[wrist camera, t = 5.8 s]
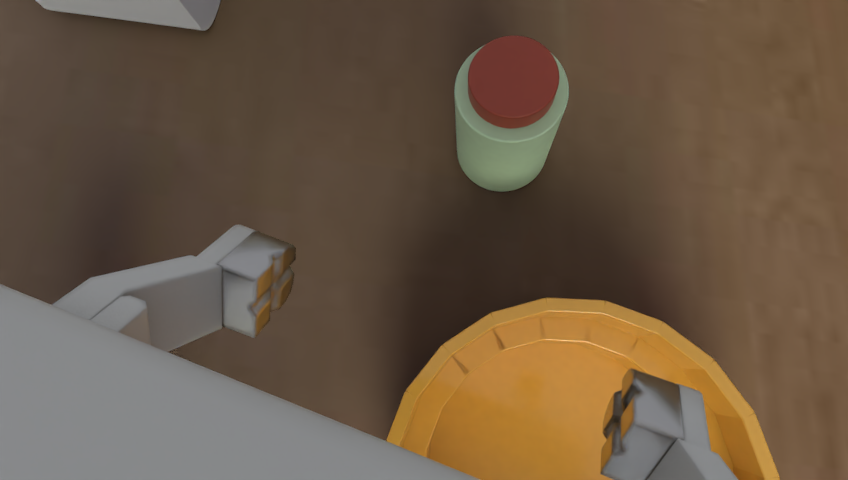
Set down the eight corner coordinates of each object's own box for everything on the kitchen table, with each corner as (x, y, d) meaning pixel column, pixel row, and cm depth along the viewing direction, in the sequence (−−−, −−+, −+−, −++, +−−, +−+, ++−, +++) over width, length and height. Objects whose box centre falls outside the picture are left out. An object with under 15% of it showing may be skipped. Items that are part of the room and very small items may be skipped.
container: (546, 193, 26) (574, 132, 19) (455, 190, 26) (451, 129, 20) (547, 109, 27) (574, 22, 20) (458, 107, 27) (456, 21, 20)
